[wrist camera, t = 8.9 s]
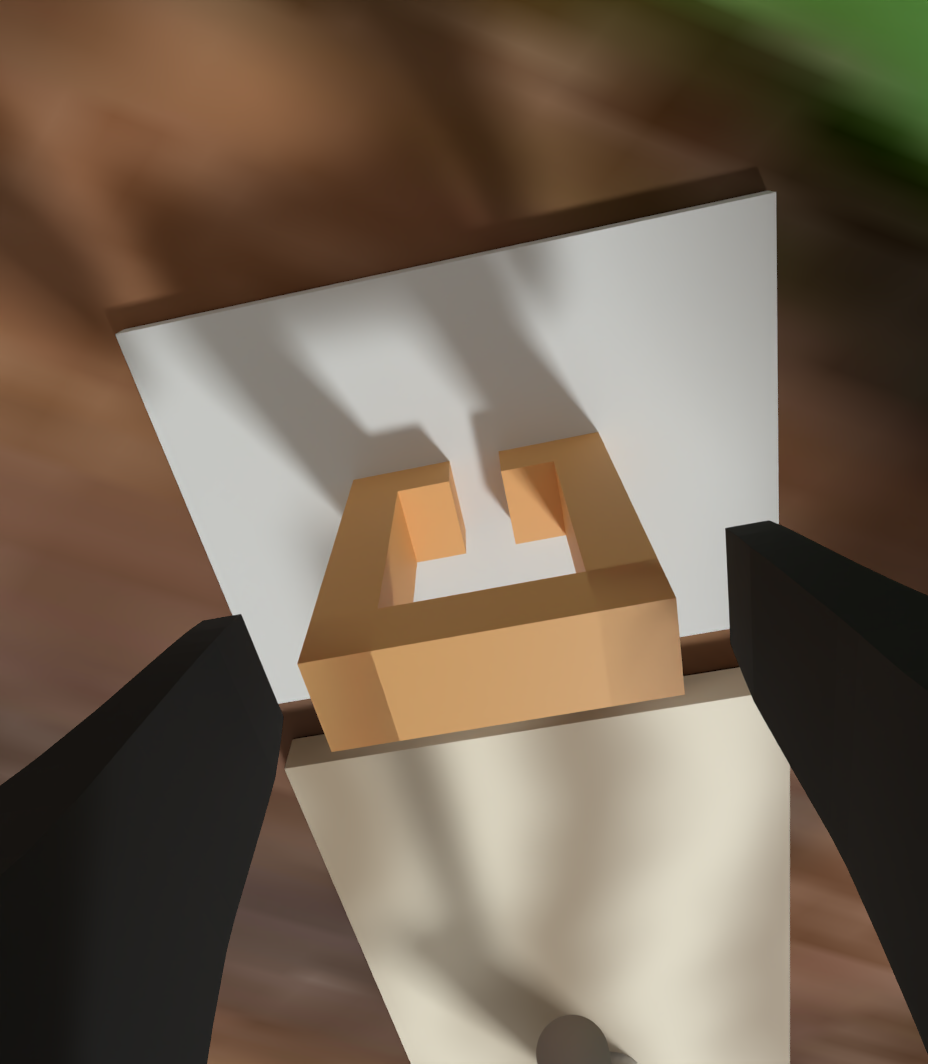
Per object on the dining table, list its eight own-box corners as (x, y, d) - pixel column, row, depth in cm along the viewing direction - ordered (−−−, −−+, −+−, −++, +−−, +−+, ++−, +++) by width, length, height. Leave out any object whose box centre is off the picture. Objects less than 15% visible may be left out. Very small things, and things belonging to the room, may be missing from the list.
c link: (598, 431, 15) (675, 597, 10) (607, 503, 16) (685, 694, 10) (353, 480, 15) (296, 664, 10) (373, 547, 16) (331, 752, 11)
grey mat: (767, 190, 13) (776, 191, 13) (773, 610, 17) (779, 620, 17) (123, 329, 14) (115, 334, 14) (274, 694, 18) (269, 704, 18)
